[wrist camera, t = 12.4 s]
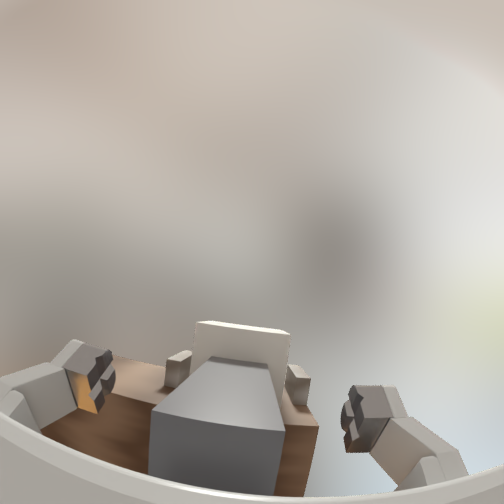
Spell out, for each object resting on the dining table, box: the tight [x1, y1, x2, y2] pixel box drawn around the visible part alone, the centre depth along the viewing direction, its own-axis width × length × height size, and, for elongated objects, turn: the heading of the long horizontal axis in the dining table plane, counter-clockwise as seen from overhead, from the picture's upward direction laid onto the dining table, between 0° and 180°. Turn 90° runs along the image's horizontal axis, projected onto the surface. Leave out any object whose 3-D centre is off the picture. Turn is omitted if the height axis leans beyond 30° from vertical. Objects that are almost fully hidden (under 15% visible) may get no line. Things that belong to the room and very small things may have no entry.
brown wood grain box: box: [40, 350, 319, 497], centre depth 19 cm, size 18×11×26 cm, turn 89°
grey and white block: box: [148, 321, 291, 496], centre depth 16 cm, size 6×19×5 cm, turn 179°
